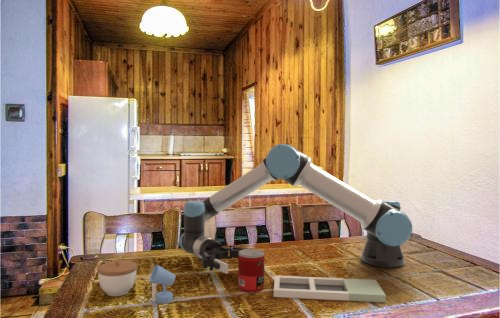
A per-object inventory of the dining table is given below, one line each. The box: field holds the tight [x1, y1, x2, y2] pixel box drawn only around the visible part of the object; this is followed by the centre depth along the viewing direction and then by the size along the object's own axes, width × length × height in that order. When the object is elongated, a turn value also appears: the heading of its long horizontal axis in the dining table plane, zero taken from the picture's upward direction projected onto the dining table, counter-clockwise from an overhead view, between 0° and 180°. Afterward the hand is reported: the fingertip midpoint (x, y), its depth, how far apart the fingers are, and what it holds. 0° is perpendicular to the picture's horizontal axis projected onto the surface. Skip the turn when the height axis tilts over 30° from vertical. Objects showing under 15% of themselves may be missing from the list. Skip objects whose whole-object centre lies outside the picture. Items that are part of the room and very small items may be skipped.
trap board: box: [273, 275, 387, 303], centre depth 109 cm, size 31×12×2 cm, turn 84°
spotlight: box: [149, 264, 176, 304], centre depth 102 cm, size 5×10×7 cm
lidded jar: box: [97, 259, 138, 297], centre depth 108 cm, size 11×11×9 cm
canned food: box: [237, 248, 266, 293], centre depth 112 cm, size 8×8×11 cm
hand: (245, 264), depth 113 cm, fingers open, 13 cm apart
